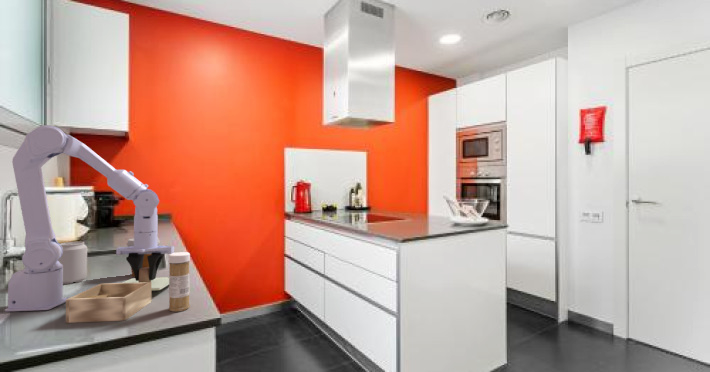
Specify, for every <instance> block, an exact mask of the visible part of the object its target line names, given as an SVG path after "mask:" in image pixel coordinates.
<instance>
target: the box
mask: <svg viewBox="0 0 710 372" xmlns="http://www.w3.org/2000/svg"><path fill="white" fill-rule="evenodd" d="M99 295H108V297H107V298H87V297H89V296H99ZM151 302H152V290H151V282H142V283H122V282H117V283H116V282H115V283H114V282H113V283H111V282H110V283H99V284H97V285H95V286H93V287H90V288H87V289H86V290H84V291H82V292H80V293H77V294H75V295H72V296H71V298H69V299H66V302H65V324H68V323H69V324H71V323H91V322H93V323H94V322H96V323H97V322H117V321H118V322H119V321H126V320H128V319H129V318H131V317H132V316H134V315H135V314H137V313H138V312H139V311H141V310H142V309H144V308H145V307H147V305H149V304H150V303H151Z"/></svg>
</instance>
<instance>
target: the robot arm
mask: <svg viewBox="0 0 710 372" xmlns="http://www.w3.org/2000/svg"><path fill="white" fill-rule="evenodd" d="M62 154H64V155H66V156H69V157H73V158H78V159H80V160H81V161H83V162H85V164H87V165H88V166H90V167H92V168H93V169H94V170H96V171H97V172H99V173H100V175H103V176H104V177H105V178H106V179H107V181H106V182H107V186H108V187H110V188H111V189H113V190H114V191H115V192H117V193H118V195H121V196H122V197H123V198H124V199H126V200H127V201H130V200H131V201H132V202H133V205H134V206H135V207H134V208H135V209H134V216H133V238H134V246H132V247H128V246H119V247H116V249H115V250H116V252H115V253H116V256H122V255H127V256H126V261H127V263H128V264H129V265H130V269H131V268H132V270H133V272H134V275H135V277H134V278H135V279H136V281H139V269H140V268H142V265H143V258H144V254H151V255H150V256H147V258H148V263H149V280H154V279H155V278H157V273H158V269H159V266H160V264H161V262H162V260H163V259H164V257H165V255H166V254H167V255H170V254H172V253H175V246H174V245H158V238H159V237H158V225H159V223H158V222H159V221H158V219H159V216H158V208H157V207H158V205H159V203H160V199H159V196H158V194H157V193H156V192H155V191H154V190H152V189H149V188H148V187H149V184H147V183H145V184H144V183H143V182H141V181H140V180H139V179H138V178H136V177H135V176H134V175H135V174H134V172H133V171H131V170H130V171H128V170H126V169H116V168H115V167H114V166H113V165H111V164H110V163H109V162H107V160H105V159H104V158H102V157H101V156H100V155H98V154H97V153H96V152H95V151H94V150H92V148H91V147H89V146H87V145H86V143H83V142H82V141H80V140H78V139H77V138H76V137H73V136H72V135H70V134H68V133H67V134H66V133H65V132H64V131H63V130H62V129H61V128H60V127H58V126H54V125H48V124H47V125H46V124H45V125H39V126H38V127H36V128H34V129H33V130H31V131H30V132H29V133H27V134H25V137H24V140H23V142H22V143H21V144H20V147H19V148H18V149H17V151H16V153H15V154H14V156H13V157H12V161H11V162H12V167H13V173H14V179H15V184H16V188H17V193H18V199H19V205H20V209H21V214H22V220H23V226H24V230H25V238H24V247H25V249H24V252H23V254H22V257H21V260H22V261H21V262H22V265H23V266H24V268H23V269H22V270H18V271H16V272H14V273H13V274H12V275H11V276H10V278H9V280H8V285H7V286H8V287H7V288H8V289H7V308H5V309H4V311H5V312H28V311H49V310H51V309H53V308H56V307H58V306H60V305H62V304H65V303H66V299H69V298H71V297H72V296H71V297H69V296H68V297H64V284H63V265H62V264H60V263H59V261H58V260H59V259H60V257H61V256H62V254H63V248H62V246H61V245H60V244H61V243H59V241H57V237H56V233H55V231H54V229H53V226H52V219H51V215H50V209H49V203H48V198H47V194H46V193H47V192H46V188H45V182H44V176H43V171H42V167H43V166H44V165H45V164H46V163H48V162H49V161H50V160H52V158H54V157H57V156H59V155H62ZM149 251H152V252H149ZM132 270H131V271H132Z"/></svg>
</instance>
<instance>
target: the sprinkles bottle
mask: <svg viewBox="0 0 710 372" xmlns="http://www.w3.org/2000/svg"><path fill="white" fill-rule="evenodd" d="M190 260H191V254H190V252H187V251H180V252H174V253H172V254H168V263H169V264H168V265H169V267H168V268H169V271H168V277H169V285H168V299H169V301H168V302H169V305H168V306H169V308H168V310H169V311H170V312H175V313H176V312H183V311H186V310H188V309H189V308H190V277H191V276H190Z"/></svg>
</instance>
